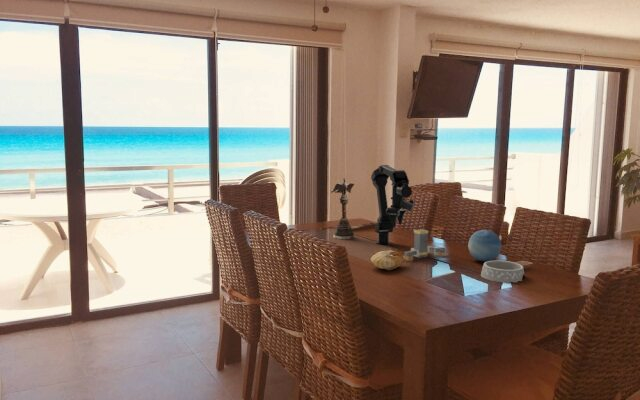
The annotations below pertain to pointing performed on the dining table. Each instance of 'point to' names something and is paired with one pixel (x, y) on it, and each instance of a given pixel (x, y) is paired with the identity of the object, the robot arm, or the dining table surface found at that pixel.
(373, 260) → the nautilus
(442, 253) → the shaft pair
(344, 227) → the bird statue
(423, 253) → the block
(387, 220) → the robot arm
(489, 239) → the decorative ball
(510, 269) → the dog bowl
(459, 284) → the dining table surface
